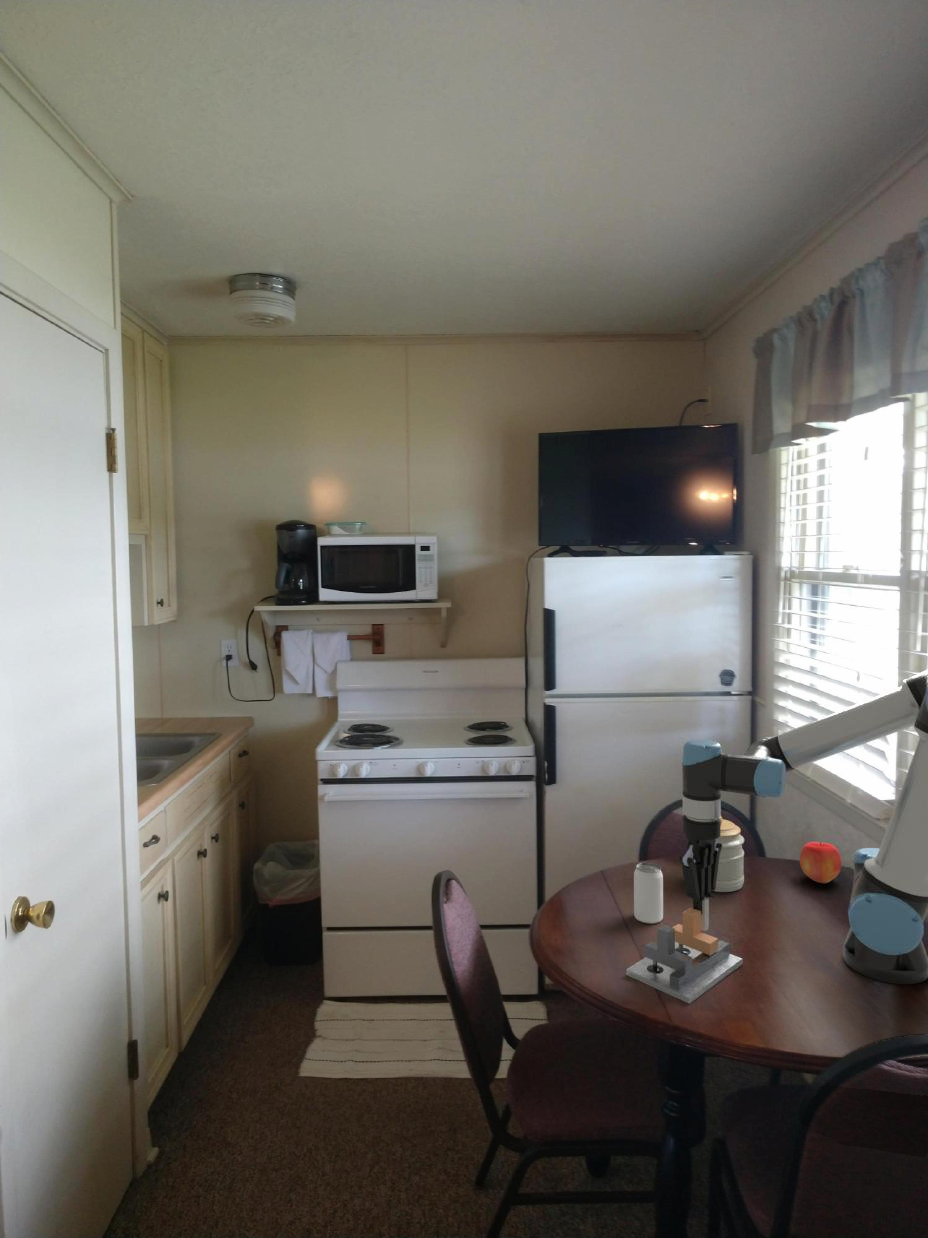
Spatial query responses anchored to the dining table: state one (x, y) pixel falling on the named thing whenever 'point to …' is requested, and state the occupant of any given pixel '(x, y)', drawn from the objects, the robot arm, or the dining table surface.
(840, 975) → the dining table surface
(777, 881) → the dining table surface
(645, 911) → the can
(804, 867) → the apple
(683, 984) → the grey assembly fixture
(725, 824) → the jar
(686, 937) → the orange t-shaped block
